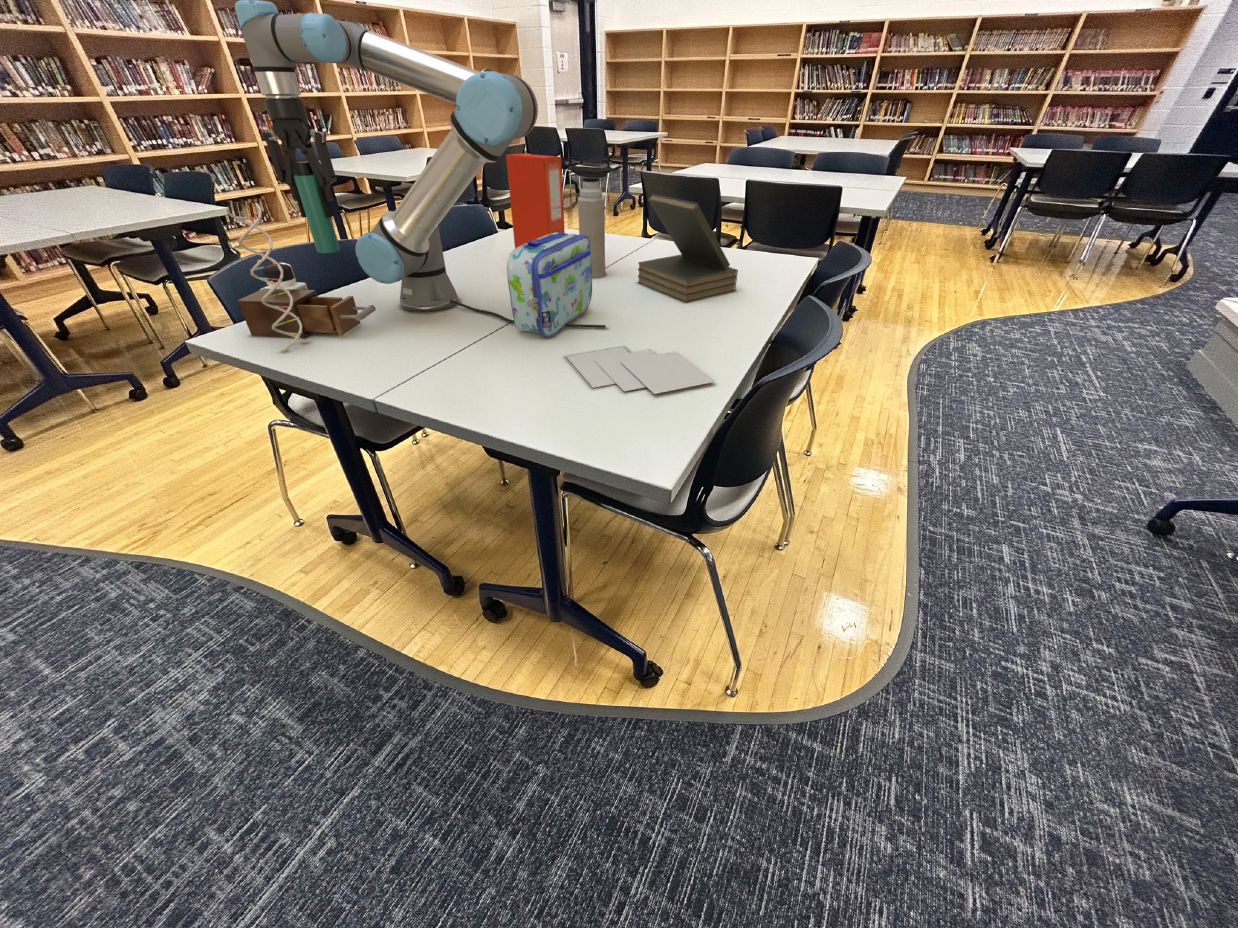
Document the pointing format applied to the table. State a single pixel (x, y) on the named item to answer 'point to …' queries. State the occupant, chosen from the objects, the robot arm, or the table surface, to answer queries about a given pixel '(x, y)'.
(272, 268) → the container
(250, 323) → the cabinet
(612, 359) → the paper stack
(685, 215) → the book stack
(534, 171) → the file binder
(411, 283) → the robot arm
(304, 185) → the bottle
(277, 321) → the dna model
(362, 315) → the drawer
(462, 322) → the table surface
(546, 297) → the lunch box
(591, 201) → the thermos bottle
